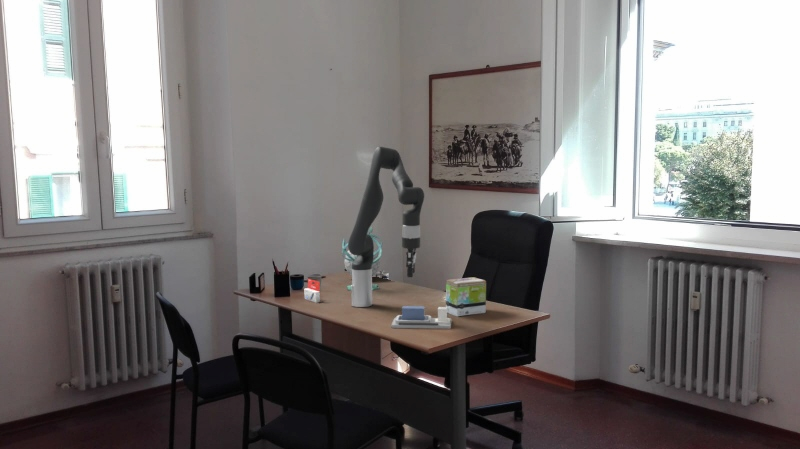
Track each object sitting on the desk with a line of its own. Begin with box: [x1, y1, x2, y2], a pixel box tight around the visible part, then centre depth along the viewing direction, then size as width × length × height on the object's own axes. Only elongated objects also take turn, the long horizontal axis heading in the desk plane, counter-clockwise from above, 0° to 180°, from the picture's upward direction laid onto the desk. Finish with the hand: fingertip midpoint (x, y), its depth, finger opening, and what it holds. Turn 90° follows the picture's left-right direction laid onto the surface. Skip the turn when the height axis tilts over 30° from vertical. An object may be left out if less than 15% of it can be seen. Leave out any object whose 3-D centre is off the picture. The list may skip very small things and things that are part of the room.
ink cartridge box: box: [303, 278, 321, 303], centre depth 317 cm, size 2×11×10 cm, turn 39°
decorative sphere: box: [344, 248, 381, 277], centre depth 368 cm, size 20×20×20 cm
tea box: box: [445, 277, 487, 317], centre depth 288 cm, size 15×10×15 cm, turn 117°
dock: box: [390, 306, 452, 330], centre depth 270 cm, size 24×12×7 cm, turn 84°
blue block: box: [401, 305, 426, 320], centre depth 270 cm, size 9×4×6 cm, turn 84°
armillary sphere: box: [341, 226, 383, 292], centre depth 343 cm, size 22×26×35 cm
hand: (411, 275), depth 270 cm, fingers open, 8 cm apart
